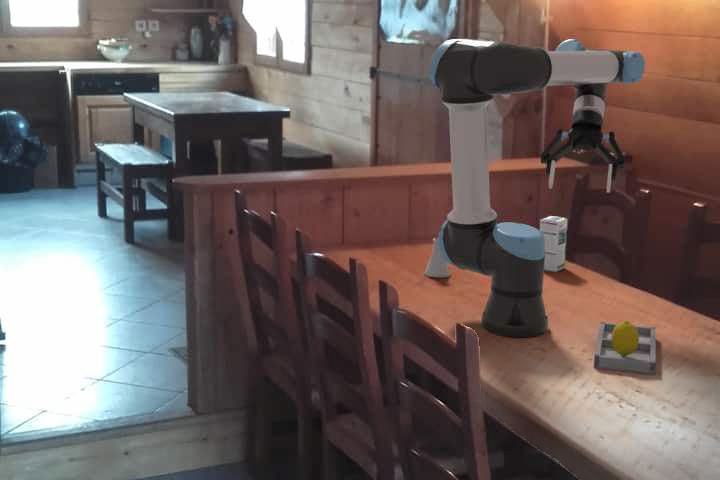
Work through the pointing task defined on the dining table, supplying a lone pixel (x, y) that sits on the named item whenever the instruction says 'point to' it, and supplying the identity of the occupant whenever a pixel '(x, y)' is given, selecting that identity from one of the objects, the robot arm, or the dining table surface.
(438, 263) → the flask
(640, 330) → the grey divided tray
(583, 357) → the dining table surface
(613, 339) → the lemon
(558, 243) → the syrup box
